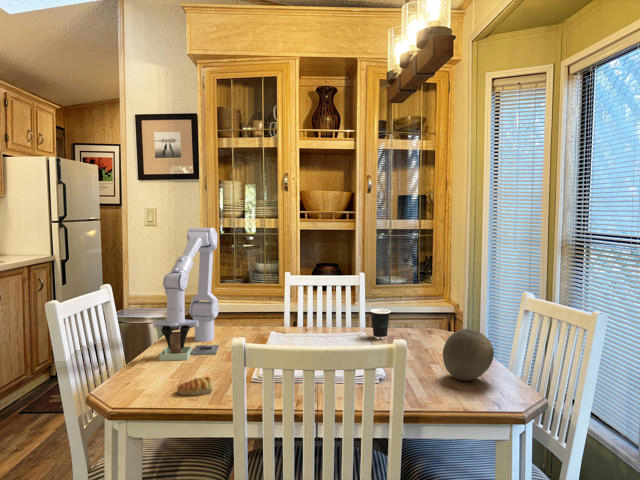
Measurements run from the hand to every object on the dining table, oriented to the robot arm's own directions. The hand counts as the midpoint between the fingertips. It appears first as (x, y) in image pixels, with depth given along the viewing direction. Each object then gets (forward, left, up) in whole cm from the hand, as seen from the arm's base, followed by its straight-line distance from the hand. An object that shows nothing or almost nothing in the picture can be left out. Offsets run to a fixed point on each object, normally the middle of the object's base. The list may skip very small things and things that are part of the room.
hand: (176, 347), depth 157 cm
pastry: (+30, +12, -4) cm, 32 cm away
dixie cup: (-22, +75, -4) cm, 78 cm away
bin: (0, 0, -4) cm, 4 cm away
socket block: (-5, +9, -4) cm, 11 cm away
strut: (0, 0, -2) cm, 2 cm away
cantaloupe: (+26, +91, -4) cm, 95 cm away
